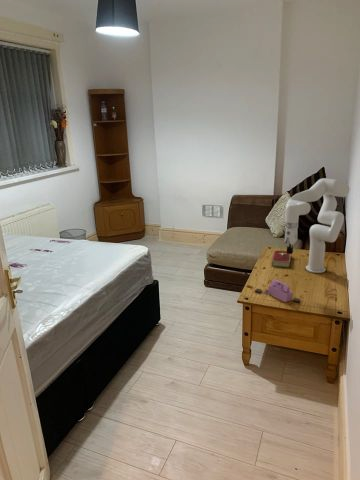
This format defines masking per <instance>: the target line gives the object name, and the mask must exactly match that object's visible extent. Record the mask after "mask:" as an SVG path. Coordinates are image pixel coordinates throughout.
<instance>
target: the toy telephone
mask: <svg viewBox="0 0 360 480" xmlns="http://www.w3.org/2000/svg"><path fill="white" fill-rule="evenodd" d="M290 288H291V287H290V286H289V285H288V284H286V283H284V282H283V281H280V280H277V279H272V280H271V283H270V285H268V289H265V290H264V294H269V295H270V296H272V297H274V298H276V299H278V300H280V301H282V302H284V303H287V302H290V301H293V295H294V294H293V291H292V290H290Z"/></svg>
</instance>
